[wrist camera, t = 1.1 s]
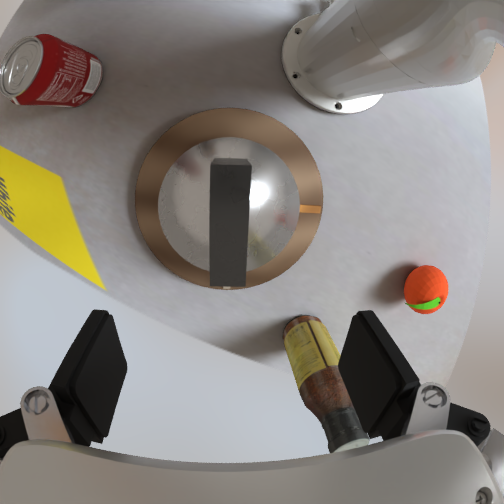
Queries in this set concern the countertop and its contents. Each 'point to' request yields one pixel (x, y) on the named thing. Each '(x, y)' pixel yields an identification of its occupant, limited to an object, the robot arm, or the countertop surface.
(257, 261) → the dial
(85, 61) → the soda can
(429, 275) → the clementine
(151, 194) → the base
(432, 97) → the countertop surface
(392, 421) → the robot arm
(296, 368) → the sauce bottle
